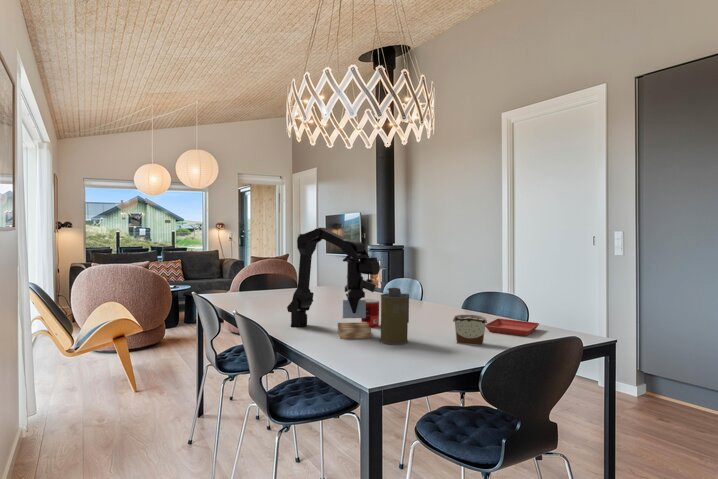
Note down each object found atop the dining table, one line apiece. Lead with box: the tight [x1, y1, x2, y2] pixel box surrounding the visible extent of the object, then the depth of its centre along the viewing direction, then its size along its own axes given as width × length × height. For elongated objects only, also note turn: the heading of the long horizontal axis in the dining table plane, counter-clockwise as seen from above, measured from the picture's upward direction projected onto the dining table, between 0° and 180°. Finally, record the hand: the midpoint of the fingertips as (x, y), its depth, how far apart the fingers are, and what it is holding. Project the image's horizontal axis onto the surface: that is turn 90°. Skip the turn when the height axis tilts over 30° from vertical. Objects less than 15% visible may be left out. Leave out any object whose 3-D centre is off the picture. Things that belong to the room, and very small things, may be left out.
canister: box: [379, 287, 410, 346], centre depth 177 cm, size 11×10×20 cm
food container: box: [452, 314, 488, 347], centre depth 176 cm, size 12×6×10 cm, turn 71°
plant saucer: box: [485, 318, 540, 337], centre depth 198 cm, size 18×18×3 cm
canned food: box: [360, 298, 380, 328], centre depth 206 cm, size 8×8×11 cm
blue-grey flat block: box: [342, 299, 366, 319], centre depth 187 cm, size 9×2×7 cm, turn 97°
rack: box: [337, 321, 372, 340], centre depth 187 cm, size 12×12×4 cm
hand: (353, 312), depth 187 cm, fingers closed on blue-grey flat block, 2 cm apart
